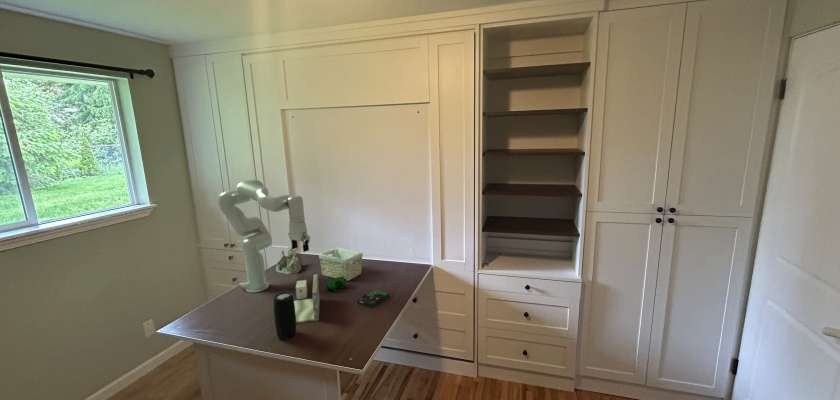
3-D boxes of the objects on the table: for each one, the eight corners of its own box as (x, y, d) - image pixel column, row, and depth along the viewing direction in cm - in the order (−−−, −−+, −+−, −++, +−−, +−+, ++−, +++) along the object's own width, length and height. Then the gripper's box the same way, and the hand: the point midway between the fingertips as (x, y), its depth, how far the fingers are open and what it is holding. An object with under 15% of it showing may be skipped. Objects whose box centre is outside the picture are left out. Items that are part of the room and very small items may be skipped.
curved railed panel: (276, 326, 157) (273, 297, 154) (282, 304, 178) (279, 278, 175) (318, 320, 162) (316, 292, 159) (319, 299, 183) (317, 274, 180)
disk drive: (372, 309, 173) (389, 297, 185) (372, 304, 172) (389, 292, 185) (357, 304, 179) (375, 292, 191) (357, 299, 178) (375, 288, 190)
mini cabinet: (296, 300, 182) (295, 288, 181) (298, 292, 192) (297, 280, 190) (306, 299, 183) (305, 287, 182) (307, 291, 193) (306, 279, 192)
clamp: (332, 299, 192) (328, 289, 187) (327, 293, 196) (322, 283, 191) (350, 286, 198) (345, 276, 193) (344, 280, 202) (340, 270, 197)
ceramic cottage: (276, 266, 230) (275, 246, 226) (302, 265, 234) (301, 244, 230) (273, 277, 215) (271, 255, 211) (300, 275, 219) (299, 253, 215)
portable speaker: (288, 327, 156) (285, 288, 152) (301, 333, 151) (298, 293, 147) (271, 336, 149) (267, 296, 145) (285, 343, 144) (281, 301, 140)
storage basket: (319, 275, 215) (317, 253, 212) (337, 266, 228) (336, 246, 226) (347, 283, 203) (345, 260, 200) (364, 273, 216) (363, 252, 214)
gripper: (281, 218, 181) (284, 249, 184) (301, 222, 171) (304, 254, 174) (293, 216, 187) (296, 245, 190) (313, 219, 177) (316, 250, 180)
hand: (300, 249), depth 182 cm, fingers open, 9 cm apart
